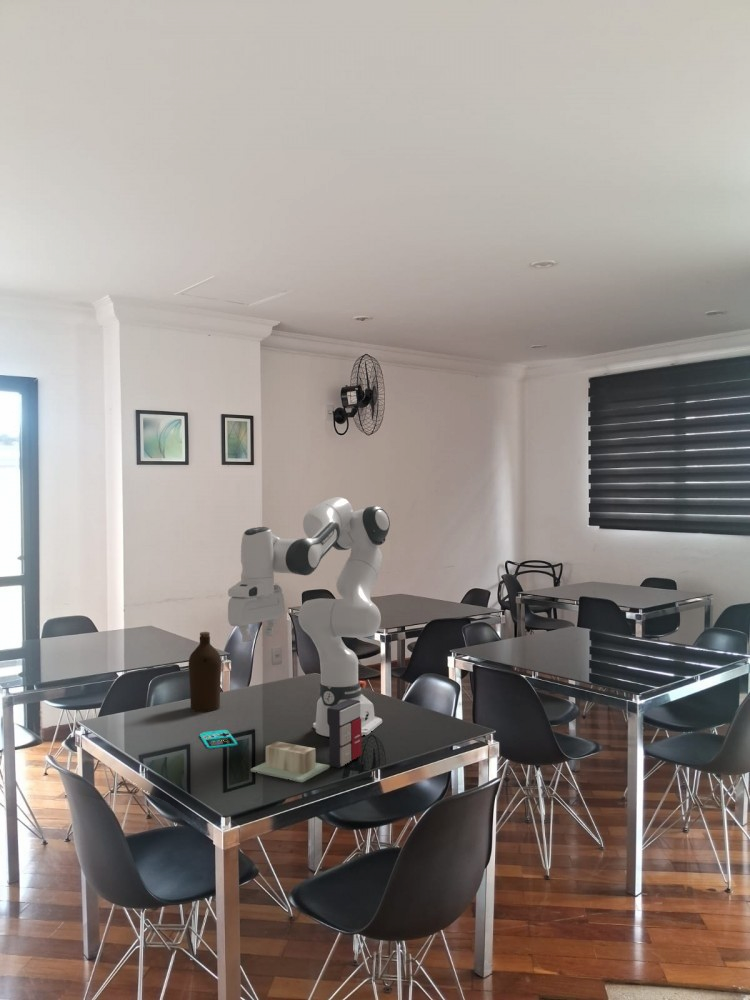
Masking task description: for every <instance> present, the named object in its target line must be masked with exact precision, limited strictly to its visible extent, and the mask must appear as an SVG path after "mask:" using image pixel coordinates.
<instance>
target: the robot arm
mask: <svg viewBox="0 0 750 1000" xmlns="http://www.w3.org/2000/svg"><path fill="white" fill-rule="evenodd" d="M390 522H391V521H390V517H389V515H388V513H387V511H385V510H384V508H382V507H381V506H375V505H374V506H373V505H372V506H367V507H366V508H362V509H358V510H354V509H353V506H352V504H351V503H350V502H349V501H348V499H346V498H344V497H341V496H335V497H331V498H328V499H326V500H323V501H322V502H320V503H318V504H317V505H314V507H312V508H311V509H310V510H308V512H306V514H305V515H304V518H303V521H302V527H303V531H304V533H305V535H306V537H307V538H282V537H281V538H280V537H278V536H277V535H275V534H273V532H272V529H271V528H270V527H267V526H259V527H252V528H249V529H246V530H245V531H244V532H243V533H242V534H243V535H242V536H241V537H242V538H241V545H240V563H241V568H242V569H241V570H242V571H241V574H240V581H238V582H237V583H236V584H234V585H233V586H231V587H230V588H229V589H228V590H227V596H228V597H230V598H229V600H228V602H227V603H228V604H227V620H228V623H229V625H230V626H231V627H238V629H239V632H240V633H241V636H242V637H241V638H242V639H241V640H242V642H244V643H247V642H251V641H252V634H250V633H249V631H248V630H249V626H250V625H253V624H258V623H259V624H260V623H263V622H266V624H267V626H266V629H264V636H265V637H272V636H274V628H275V625H276V623H277V620H276V619H280V618H283V617H284V616H285V614H286V608H285V607H286V606H285V605H286V604H285V599H284V594H283V589H282V588H281V586H279V584H275V573H277V574H278V573H279V574H294V575H299V576H309V575H311V574H312V573H313V572H314V571H316V569H317V568H318V566H319V564H320V562H321V560H322V559H323V558H324V557H325V556H326V555H327V553H328V552H330V550H331V549H332V548H334V549H335V550H337V551H346V550H347V551H348V550H350V554H349V557H348V558H347V560H346V562H345V564H344V565H343V568H342V570H341V571H340V574H339V575H338V577H337V579H336V586H335V587H336V590H337V592H338V595H340V597H341V598H339V599H338V598H325V597H324V598H320V597H319V598H314V599H313V598H312V599H309V600H306V601H304V602H303V603H302V605H301V606H300V608H299V610H298V614H297V619H298V624H299V625H300V627H301V629H302V631H304V632H305V633H306V634H307V635H308V636H309V637H310V638H311V640H312V642H313V644H314V645H315V647H316V650H317V652H318V657H319V664H320V683H319V688H318V691H319V697H320V698H318V700H317V702H316V714H315V722H313V724H312V728H313V729H314V730H315V732H316V734H318V735H320V736H323V737H328V738H329V725H328V723H327V709H328V708H329V707H331V706H334V705H336V704H338V703H341V702H343V701H345V700H347V699H352V700H359V701H360V713H361V715H360V718H361V737H362V736H363V735H365V736H368V735H369V734H370V733H372V732H371V731H374V730H375V729H376V728H378V726H380V725H381V724H382V723H383V719H382V718H381V717H378V716H375V708H374V707H375V706H374V704H373V703H372V702H371V701H370V700H369V699H368V698H367V697H366V696H364V694H363V691H362V689H365V688H366V686H367V683H366V681H365V680H364V681H362V680H359V659H358V656H357V654H356V653H355V652H354V651H353V650H352V649H350V648H348V647H347V646H346V644H345V643H344V641H343V639H342V637H343V638H352V639H353V638H356V639H359V638H366V637H372V636H374V635H375V634H376V633H377V632H378V630H379V629H380V628H381V627H380V626H381V623H382V617H381V616H382V615H381V611H380V610H379V607H378V606H377V605H376V604H375V603H374V602H373V601H372V599H371V595H372V591H373V589H374V587H375V584H376V581H377V579H378V577H379V574H380V570H381V567H382V562H383V554H382V551H381V549H379V548H380V547H379V546H381V545H383V544H384V543H385V541H386V537H387V535H388V533H389V530H390V525H391V523H390ZM363 737H364V736H363Z"/></svg>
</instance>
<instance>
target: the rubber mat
mask: <svg viewBox="0 0 750 1000" xmlns="http://www.w3.org/2000/svg"><path fill="white" fill-rule="evenodd" d="M330 767H331V766H330V764H324V763H319V762H316V768H315V769H313V770H311V771H309V772H307V773H305V774H301V773H296V772H291V771H286V770H282V769H277V768H272V767H267V766H266V761H264V762H262V763H261V764H258V765H256V766H254V767H252V768H250V772H252V773H256V772H257V773H256V774H260V775H265V776H271V777H275V778H280V779H285V780H288V779H289V781H294V782H298V783H305V782H306V781H307V780H310V779H311V778H313V777H315V776H317V775H319V774H321V773H322V772H324V771H326V770H329V768H330Z"/></svg>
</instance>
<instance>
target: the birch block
mask: <svg viewBox="0 0 750 1000" xmlns="http://www.w3.org/2000/svg"><path fill="white" fill-rule="evenodd" d="M316 760H317V759H316V748H315V747H309V746H304V745H300V744H294V743H290V742H289V743H288V742H283V741H279V740H278V741H275V742H272V743H271V744H269V745H266V746H265V762H266V766H267V767H272V768H277V769H282V770H286V771H291V772H296V773H301V774H305V773H307V772H309V771H311V770H313V769H315V768H316V763H317V762H316Z"/></svg>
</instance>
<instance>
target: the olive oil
mask: <svg viewBox="0 0 750 1000" xmlns="http://www.w3.org/2000/svg"><path fill="white" fill-rule="evenodd" d="M210 634H211V633H210V632H209V631H200V632H199V644H198V646H197V647H195V649H194V650H193V651H192V653H190V656H189V659H188V675H189V695H190V709H191V711H194V712H200V713H203V712H205V713H207V712H212V711H213V712H214V711H216V710H218V709H220V707H221V680H222V679H221V677H222V658H221V654H220V652H219V651H218V650H217V649H216V648H215V647H214V646H213V645H212V644H211V636H210Z"/></svg>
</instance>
